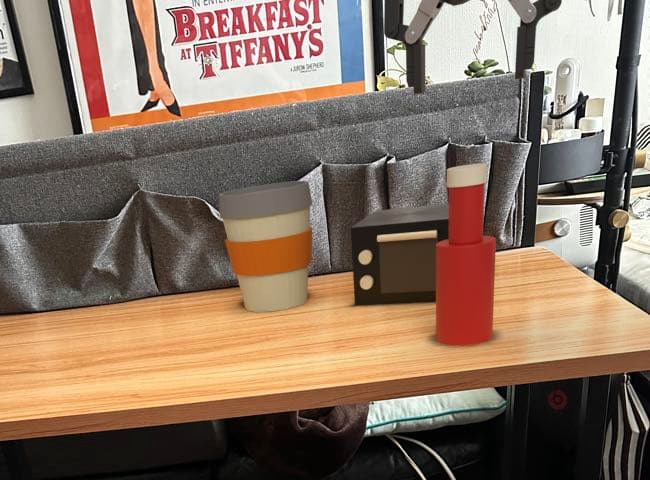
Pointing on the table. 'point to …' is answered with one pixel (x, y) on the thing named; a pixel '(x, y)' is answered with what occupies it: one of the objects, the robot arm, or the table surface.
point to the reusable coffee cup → (269, 243)
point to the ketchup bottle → (465, 263)
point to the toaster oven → (398, 254)
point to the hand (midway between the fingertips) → (468, 86)
